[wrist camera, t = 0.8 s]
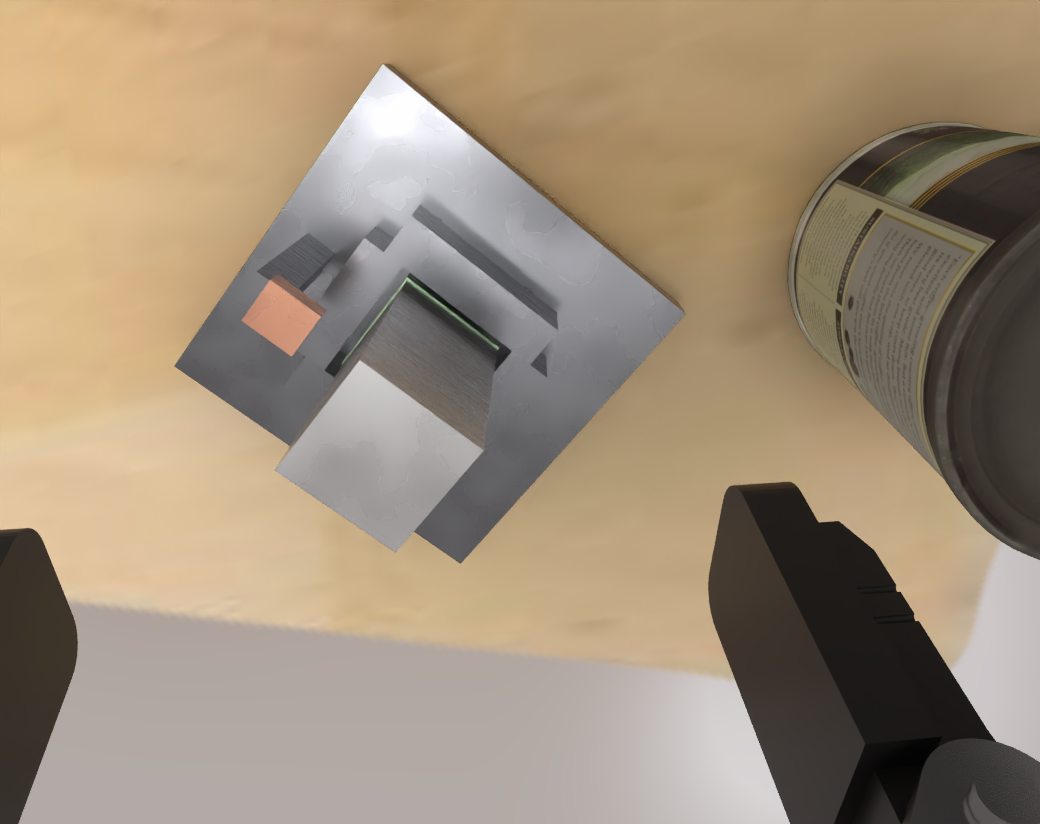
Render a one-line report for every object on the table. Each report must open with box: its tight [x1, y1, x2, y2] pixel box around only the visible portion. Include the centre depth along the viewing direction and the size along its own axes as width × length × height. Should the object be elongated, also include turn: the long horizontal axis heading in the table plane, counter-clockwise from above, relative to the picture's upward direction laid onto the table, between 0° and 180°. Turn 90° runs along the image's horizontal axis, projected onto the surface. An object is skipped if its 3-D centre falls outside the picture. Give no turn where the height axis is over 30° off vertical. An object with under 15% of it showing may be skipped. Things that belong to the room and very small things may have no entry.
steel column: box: [275, 273, 500, 552], centre depth 29 cm, size 4×4×11 cm
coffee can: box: [788, 122, 1040, 560], centre depth 27 cm, size 10×10×14 cm
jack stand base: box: [175, 64, 685, 564], centre depth 31 cm, size 14×14×8 cm
